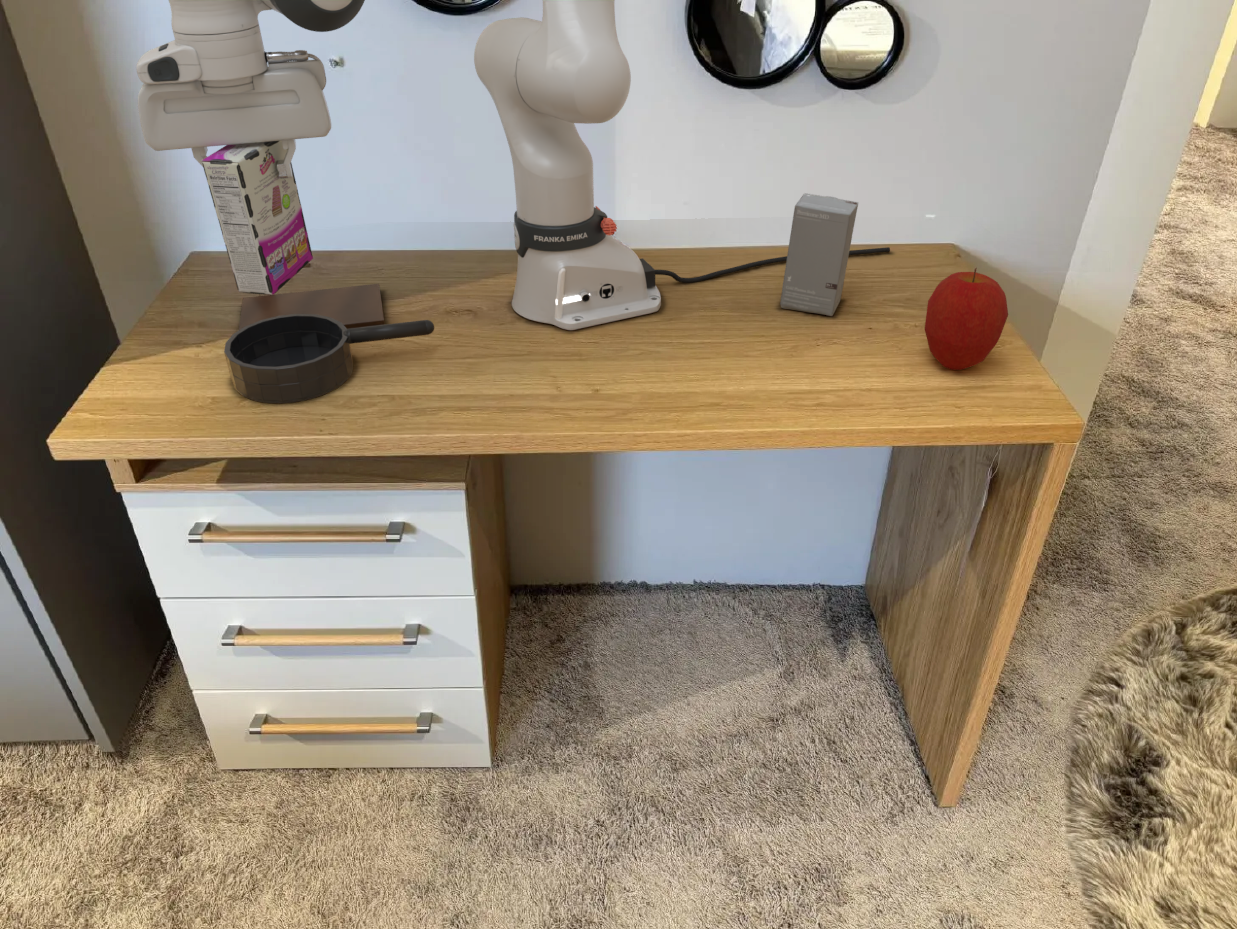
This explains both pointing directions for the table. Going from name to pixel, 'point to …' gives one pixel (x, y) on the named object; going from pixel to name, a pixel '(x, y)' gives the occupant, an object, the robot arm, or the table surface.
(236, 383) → the pan
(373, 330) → the pan handle
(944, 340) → the apple
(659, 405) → the table surface
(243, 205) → the candy bar box
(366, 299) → the cutting board
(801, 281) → the cosmetic box
